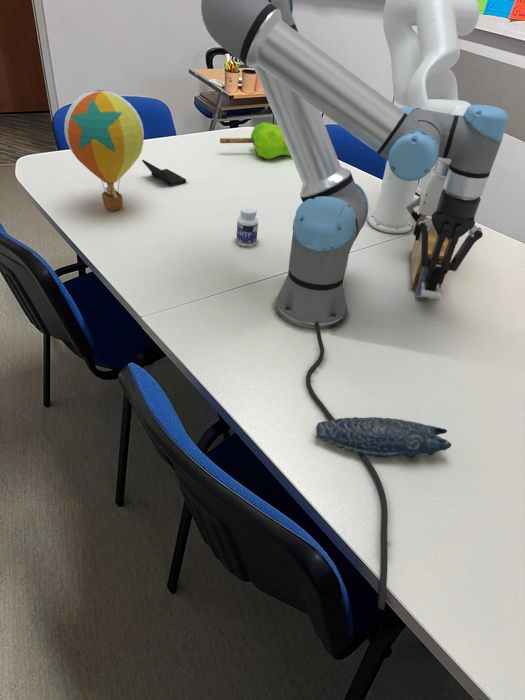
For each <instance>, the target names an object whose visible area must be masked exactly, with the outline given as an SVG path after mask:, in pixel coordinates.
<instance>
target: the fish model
mask: <svg viewBox="0 0 525 700" xmlns="http://www.w3.org/2000/svg"><path fill="white" fill-rule="evenodd" d="M315 432H316V436H315V439H316V440H320V441H322V442H325V443H328V444H329V445H331V446H335V447H337V448H338V449H344V450H345V451H348V452H353V453H356V454H358V453H362V454H363V455H365V456H366V457H368V456H370V457H374V458H382V459H383V458H384V459H386V458H387V459H388V458H390V457H391V458H395V457H403V458H404V457H405V458H406V459H414V458H415V456H417V455H418V456H419V455H423V454H426V455H428V456H433V455H434V454H436V453H439V452H441V451H446V450H448V449H450V448H451V446H452V443H451V442H450V441H449V440H447V439H446V438H442V437H441V436H440V435H444V434H447V432H448V430H447V429H446V428H442V427H437V426H433V425H429V424H424V423H422V422H421V423H420V422H416V421H412V420H411V421H410V420H404V419H399V418H391V417H384V418H383V417H377V416H373V417H372V416H371V417H358V416H354V417H342V418H334V420H330V421H329V420H326V421H325V420H324V421H320V422H318V423H317V424H316V426H315Z"/></svg>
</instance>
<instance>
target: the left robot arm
mask: <svg viewBox="0 0 525 700" xmlns="http://www.w3.org/2000/svg"><path fill="white" fill-rule="evenodd" d="M200 7H201V9H200V10H201V17H202V21H203V24H204V26H205V28H206V31H207V32H208V34H209V35H210V37H211V38H212V39H213V41H215V42H216V44H218V45H219V46H220V47H221V48H222V49H223V50H225V51H226V52H227V53H229V54H230V55H231V56H233V57H234V58H236V59H237V60H238V61H239V62H241V63H243V64H244V65H245V66H247V67H248V68H253V70H254V71H255V73H256V76H257V78H258V80H259V83H260V86H261V88H262V90H263V93H264V95H265V97H266V100H267V102H268V105H269V107H270V109H271V111H272V114H273V116H274V118H275V121H276V123H277V124H276V125H278V126H279V128H280V131H281V133H282V135H283V138H284V140H285V143H286V145H287V147H288V150H289V152H290V154H291V155H290V157H291V159H292V161H293V164H294V166H295V169H296V171H297V173H298V176H299V178H300V180H301V182H302V186H301V189H300V191H299V197H300V199H301V203H300V205H298V207H297V209H296V210H295V215H294V218H293V220H292V237H291V243H290V244H291V246H290V254H289V262H288V263H289V264H288V270H287V271H288V272H287V275H286V278H285V279H284V282H283V283H282V285H281V287H280V290H279V291H278V294H277V296H276V300H275V311H276V313H277V315H278V316H279V317H280V318H281V319H282V320H283V321H284V322H286V323H287V324H289V325H291V326H293V327H296V328H300V329H304V330H310V331H315V332H316V333H315V334H316V340H317V343H318V347H319V355H318V358H317V360H316V361H315V362H314V363H313V364H312V365H311V366H310V368H309V369H308V371H307V373H306V375H305V386H306V389H307V391H308V393H309V395H310V397H311V398H312V400H313V401H314V402H315V404H316V405H317V406H318V408H319V409H320V410H321V412H322V413H323V414H324V416H325V417H326V418H327V420H328V421H330V420H334V419H335V417H334V416H333V415H332V414H331V413H330V411H329V410H328V409H327V407H326V406H325V404H324V403H323V402H322V401H321V399H320V398H319V397H318V395H317V394H316V393H315V391H314V389H313V386H312V381H311V378H312V375H313V373H314V371H315V370H316V369H317V368H318V367H319V366H320V364H321V363H322V362H323V359H324V356H325V347H324V342H323V339H322V333H321V331H324V330H325V331H326V330H329V329H333V328H336V327H337V326H339V325H340V324H342V323H343V322H344V320H345V318H346V315H347V310H348V305H347V297H346V292H345V286H344V280H345V275H346V271H347V267H348V266H347V265H348V260H349V257H350V253H351V249H352V247H353V245H354V244H355V241H356V239H357V238H358V236H359V234H360V233H361V231H362V229H363V227H364V226H365V224H366V222H367V219H368V215H369V200H368V196H367V194H366V192H365V190H364V189H363V188H362V187H361V185H359V183H356V182H355V179H354V176H353V174H352V171H351V170H350V169H348V168H345V167H343V166H342V165H341V164H340V160H339V158H338V156H337V153H336V151H335V148H334V145H333V143H332V140H331V137H330V134H329V132H328V129H327V126H326V124H325V122H324V119H323V116H322V114H323V115H324V116H326V117H327V118H329V119H330V120H332V121H333V122H334V123H335V124H337V125H338V126H340V127H341V128H343V129H344V130H345V131H346V132H348V133H350V134H351V135H352V136H353V137H355V138H356V139H358V140H359V141H360V142H361V143H363V144H364V145H366V146H367V147H368V148H370V149H371V150H372V151H374V152H375V153H377V154H378V155H379V156H380V157H382V158H383V159H385V160H386V162H387V161H389V166H390V169H391V171H392V172H393V174H394V175H395V176H396V177H398V178H399V179H401V180H404V181H416V180H419V181H420V180H421V179H423V178H425V177H427V176H428V174H429V172H430V171H431V169H434V167H435V165H436V161H437V159H438V157H440V158H446V159H447V158H448V159H451V163H450V166H449V170H448V173H447V176H446V179H445V182H444V186H443V187H444V190H442V192H441V195H440V199H439V202H438V205H437V209H436V211H435V212H434V213H433V214H432V216H430V217H428V218H429V219H426V220H424V219H420V220H419V228H420V230H421V233H422V239H421V264H422V266H423V267H427V271H426V274H425V282H428V283H427V287H426V290H429V291H435V289H436V286H437V284H443V283H444V280H445V277H446V275H447V274H448V272H450V271H451V272H456V271H457V270H458V268H459V267H460V266H461V264H462V263H463V261H464V259H465V258H466V257H467V255H468V253H469V252H470V251H471V249H472V248H473V246H474V244H475V243H476V242H478V240H480V239H481V238H482V237H483V235H484V234H483V230H482V228H481V227H478V226H477V225H476V221H475V217H476V215H477V212H478V209H479V206H480V203H481V200H482V199H481V197H482V196H483V195H484V192H485V189H486V186H487V183H488V180H489V178H490V174H491V172H492V169H493V166H494V163H495V161H496V158H497V156H498V152H499V149H500V147H501V144H502V141H503V138H504V135H505V130H506V128H507V126H508V125H507V124H508V121H509V116H508V112H507V111H505V110H503V108H500V107H497V106H493V105H489V104H471V106H469V107H468V108H467V109H466V112H465V113H464V115H459V116H458V115H451V114H446V113H440V112H434V111H429V110H423V109H420V108H408V107H407V106H402V107H399V106H398V105H396V104H395V103H394V102H392V101H391V100H390V99H388V98H386V96H384V95H383V94H382V93H380V92H379V91H377V90H376V89H375V88H373V87H372V86H371V85H369V84H368V83H367V82H365V81H364V80H363V79H361V78H360V77H359V76H357V75H356V74H354V73H353V72H352V71H350V70H349V69H348V68H346V67H345V66H344V65H343V64H341V63H340V62H338V61H337V60H335V58H333V57H332V56H330V55H329V54H328V53H326V52H325V51H324V50H322V49H321V48H320V47H318V46H317V45H316V44H315V43H313V42H311V41H310V40H309V39H308V38H307V37H305V36H304V35H302V34H301V33H299V30H298V27H297V24H296V21H295V19H294V15H293V11H294V0H201V3H200ZM431 224H433V225H434V228H435V230H436V232H437V238H436V241H435V244H434V247H433V250H432V253H431V257H430V260H429V259H428V230H430V229H431ZM466 233H468V235H467V236H466V237H465V239H464V241H463V242H462V244H461V245H460V247H459V248H458V250H457V251H456V253H455V254H454V252H455V250H456V246H457V244H458V242H459V239H460V238H462V237H463V236H464V235H465V234H466ZM448 237H449V241H448V244H447V247H446V250H445V253H444V256H443V259H442V262H441V267H438V266H436V264H437V261H438V258H439V255H440V252H441V249H442V246H443V243H444V241H445V238H448ZM453 255H454V256H453ZM426 298H427V299H429V298H428V297H426ZM357 455H358V457H359V458H360V459H361V461H362V462H363V463H364V465H365V467H366V468H367V470H368V471H369V473H370V474H371V476H372V478H373V480H374V483H375V485H376V487H377V490H378V494H379V499H380V506H381V523H380V572H379V574H380V575H379V587H378V599H377V607H378V609H379V610H381V611H383V610H384V609H385V607H386V598H387V597H386V596H387V586H388V585H387V584H388V522H389V521H388V520H389V519H388V517H389V516H388V513H389V511H388V501H387V496H386V493H385V489H384V486H383V483H382V481H381V479H380V476H379V474H378V472H377V470H376V469H375V467H374V466H373V464H372V462H371V461H370V459H369V458H368V456H367V455H363V454H362V453H357Z"/></svg>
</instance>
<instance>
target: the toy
mask: <svg viewBox="0 0 525 700" xmlns="http://www.w3.org/2000/svg"><path fill="white" fill-rule="evenodd" d="M63 128H64V130H63V131H64V132H63V133H64V137H65V141H66V144H67V146H68V148H69V150H70V151H71V152H72V154H73V156H75V158H76V159H77V161H78V162H80V163H81V165H83V166H84V167H85V168H86V169H87V170H88V171H90V172H91V173H92V174H93V175H94V176H96V177H97V178H98V179H100V180H101V183H102V184H101V185H102V187H103V191H102V193H101V198H102V203H103V205H104V207H105V208H106V209H108V210H109V211H110V212H113V211H118V210H121V209H122V208H123V203H124V201H123V195H122V194H121V193H120V192H119V191H118V190H119V188H120V183H118V182H120V181H121V178H122V177H123V176H124V175H125V174H126V173H127V172H128V171H129V170H130V169H131V167H133V165H134V164H135V163H136V161H137V160H138V159H139V158H140V155H141V153H142V150H143V147H144V141H145V131H144V130H145V129H144V125H143V121H142V119H141V116H140V114H139V113H138V111H137V109H136V108H134V106H133V105H132V103H130V102H129V101H128V100H127V99H126V98H124V97H123V96H122V95H119V94H117V93H115V92H112V91H109V90H102V89H101V90H100V89H98V90H92V91H87V92H85V93H82V95H79V96H78V97H77V98H76V99H75V100H73V102H72V103H71V105H70V107H69V108H68V111H67V112H66V114H65V118H64V124H63ZM104 183H105V184H106V185H107V186H106V187H105V186H104ZM115 183H118V185H117V190H116V188H115Z"/></svg>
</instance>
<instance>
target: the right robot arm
mask: <svg viewBox="0 0 525 700" xmlns="http://www.w3.org/2000/svg"><path fill="white" fill-rule="evenodd" d="M382 15H383V17H382V20H383V21H382V22H383V23H382V25H383V26H382V27H383V33H384V37H385V40H386V43H387V47H388V50H389V55H390V62H391V63H390V65H391V76H392V88H393V89H392V90H393V97H394V101H395V102H396V103H397V104H398V105H400V106H402V107H407V108H420V109H423V110H429V111H434V112H440V113H446V114H451V115H458V116H459V115H464V113H465V112H466V109H467V108H468V107H469V106H471V105H472V104H471V103H470V102H469V101H466V100H460V99H459V92H458V90H459V89H458V81H457V78H456V75H455V73H454V72H453V70H452V69H451V68H452V67H454V66H455V65H456V64H457V63H458V62H459V59H460V56H461V49H460V43H459V36H460V37H464V36H465V37H466V36H468V35H469V34H472V32H473V31H474V30H475V28H476V26H477V24H478V22H479V18H480V6H479V1H478V0H385V3H384V7H383V14H382ZM413 26H414V27H416V30H417V32H416V31H415V30H414V28H413ZM450 163H451V159H448V158H447V159H446V158H440V157H438V159H437V161H436V164H435V165H434V167H433V168H432V169H431V171H430V172H429V173H428V174H427V175H426V178H425V181H424V184H423V186H422V189H421V192H420V194H419V195H420V196H418V197H416V192H417V188H418V185H419V181H420V179H419V180H416V181H404V180H401V179H399V178H398V177H396V176H395V175H394V174H393V172H392V171H391V169H390V166H389V161H387V160H386V163H385V168H384V172H383V177H382V182H381V186H380V190H379V195H378V199H377V203H376V208H375V212H373V213H371V214H369V216H368V218H367V219H368V220H367V221H368V224H369V225H370V226H371V227H372V228H374V229H376V230H378V231H380V232H384V233H387V234H406V233H408V232H410V231H411V230H412V228H413V222H412V220H411V219H410V216H411V218H412V219H413V221H414V223H415V225H414V229H413V234H412V235H413V236H414V241H415V240H418V239H419V236H420V232H421V230H420V228H419V220H420V219H425V218H428V217H431V216H432V214H433V213H434V212H435V211H436V209H437V205H438V202H439V199H440V195H441V192H442V190H444V187H443V186H444V182H445V179H446V176H447V173H448V170H449V166H450ZM415 197H416V198H415ZM416 207H418V212H417V211H416V210H415V208H416ZM448 241H449V237H448Z"/></svg>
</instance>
